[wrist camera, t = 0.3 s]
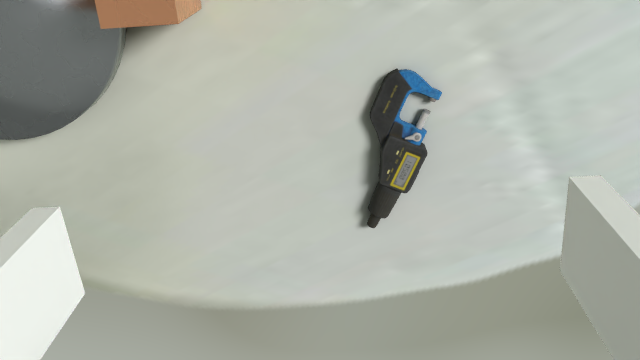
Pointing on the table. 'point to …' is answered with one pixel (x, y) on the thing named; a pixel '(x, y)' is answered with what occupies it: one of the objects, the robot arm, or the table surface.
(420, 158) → the micrometer
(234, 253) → the table surface
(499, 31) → the table surface
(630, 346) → the robot arm
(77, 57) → the grey round piece
